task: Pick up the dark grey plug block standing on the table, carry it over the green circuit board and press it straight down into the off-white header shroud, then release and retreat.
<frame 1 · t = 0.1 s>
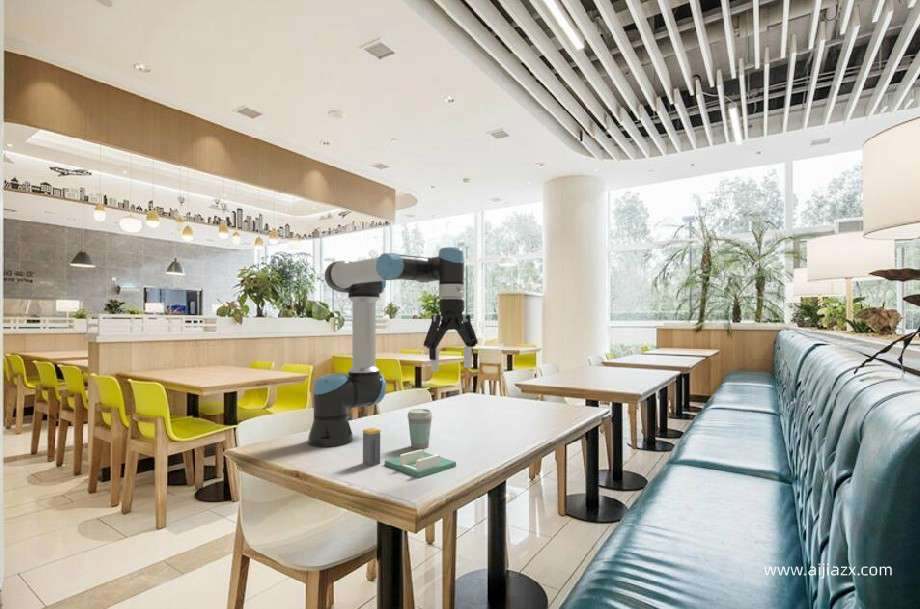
hand: (451, 369, 140), 28 cm above the table, fingers open, 13 cm apart
coffee cup: (420, 447, 158), on the table
board: (420, 465, 137), on the table
plug: (371, 463, 140), on the table
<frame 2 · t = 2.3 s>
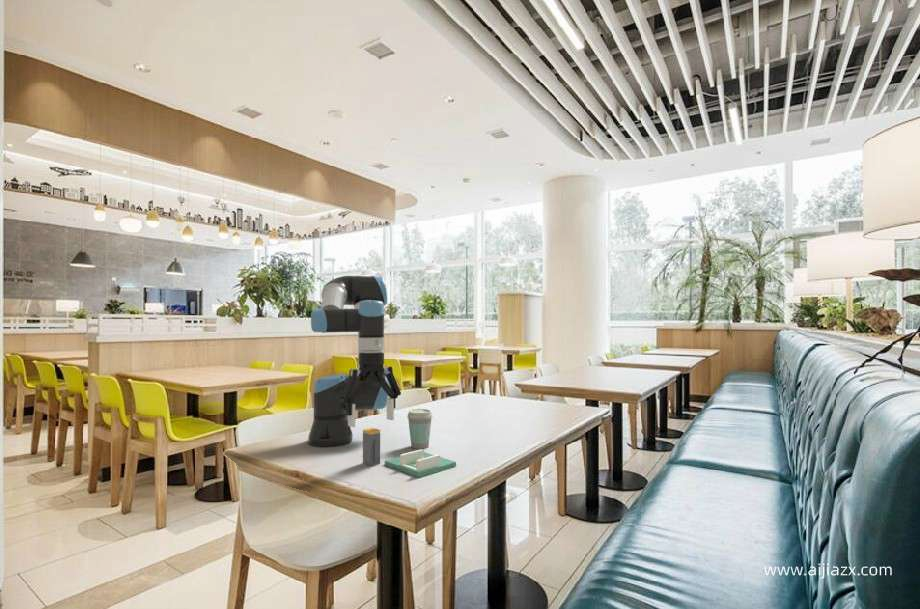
hand: (371, 422, 140), 12 cm above the table, fingers open, 13 cm apart
nothing on the table moved.
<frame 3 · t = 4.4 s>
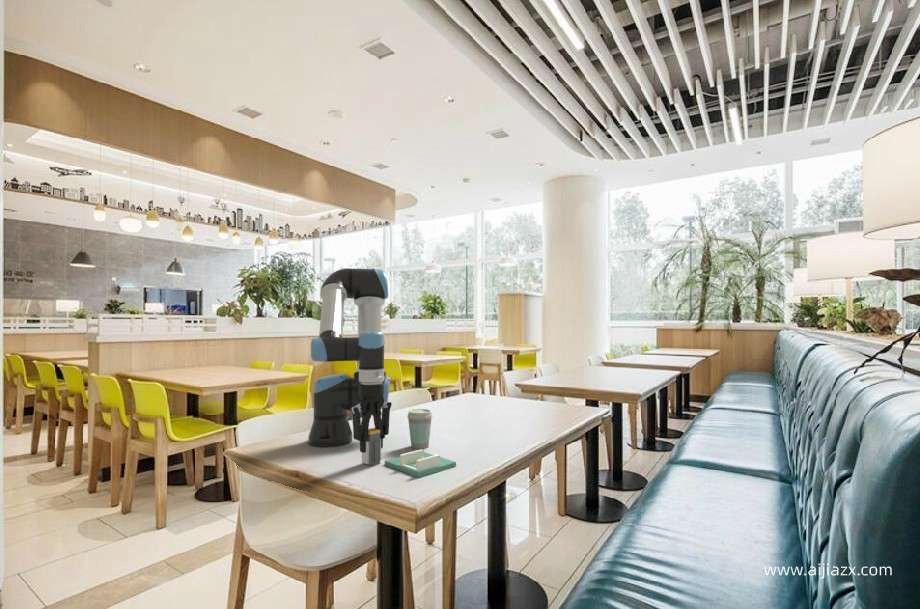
hand: (371, 461, 140), 1 cm above the table, fingers closed on plug, 3 cm apart
plug: (371, 463, 140), on the table, touching gripper
everything else where it was.
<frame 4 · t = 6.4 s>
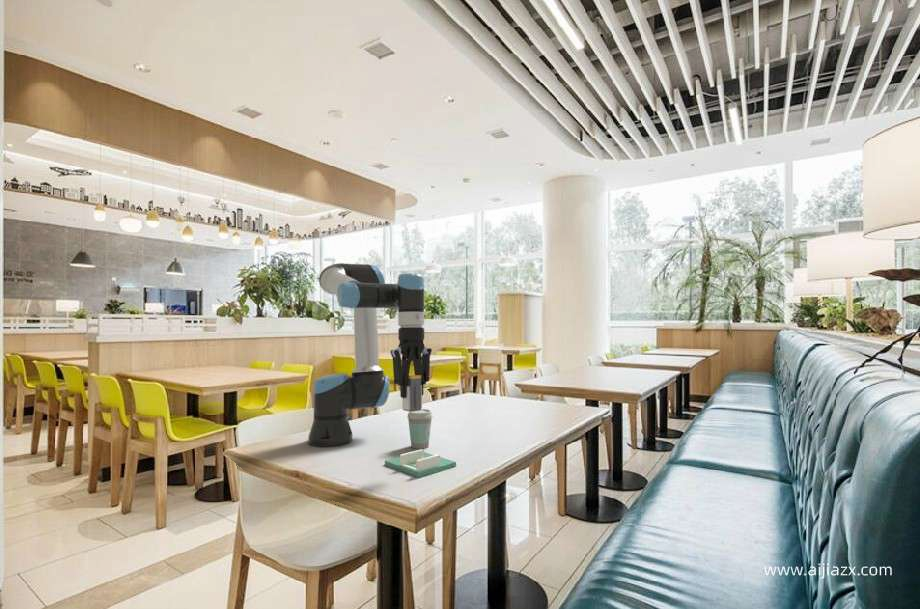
hand: (412, 408, 134), 18 cm above the table, fingers closed on plug, 3 cm apart
plug: (412, 410, 134), point 17 cm above the table, touching gripper
everything else where it was.
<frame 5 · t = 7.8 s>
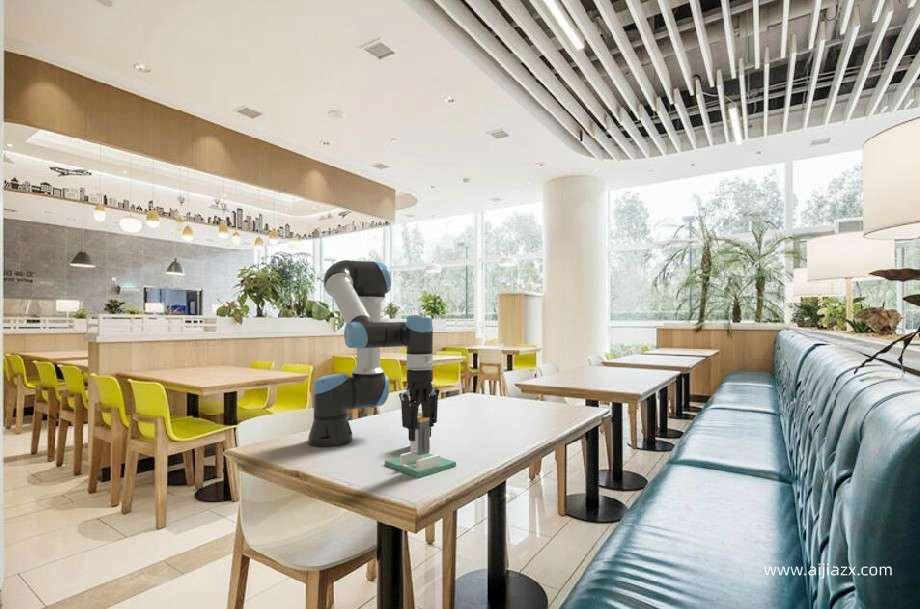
hand: (420, 450, 134), 5 cm above the table, fingers closed on plug, 3 cm apart
plug: (420, 452, 134), point 5 cm above the table, touching gripper
everything else where it was.
when the fingers open (2 cm above the table, at t = 8.7 s): plug stays where it is, resting on board.
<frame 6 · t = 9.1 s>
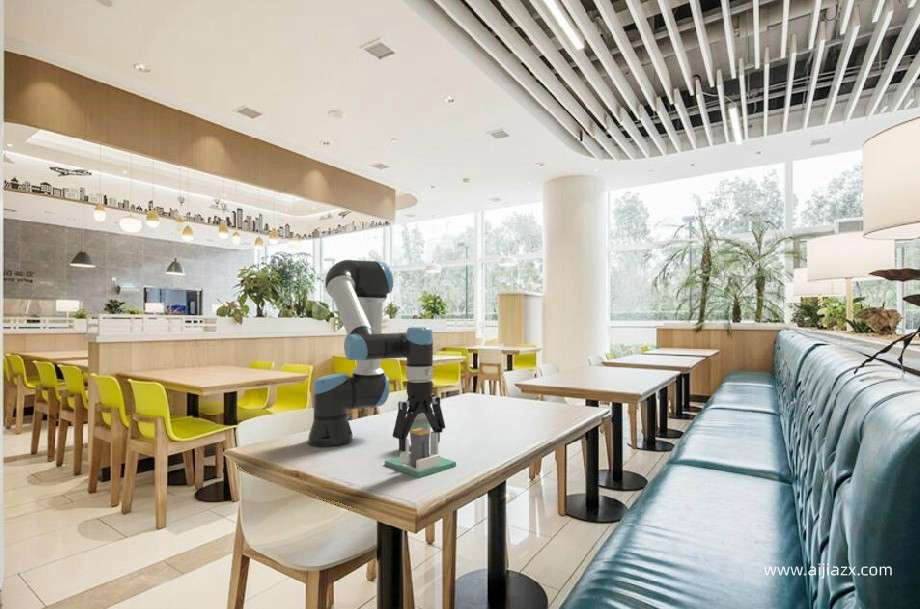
hand: (420, 458, 134), 3 cm above the table, fingers open, 10 cm apart
plug: (420, 465, 134), point 1 cm above the table, touching board
everything else where it was.
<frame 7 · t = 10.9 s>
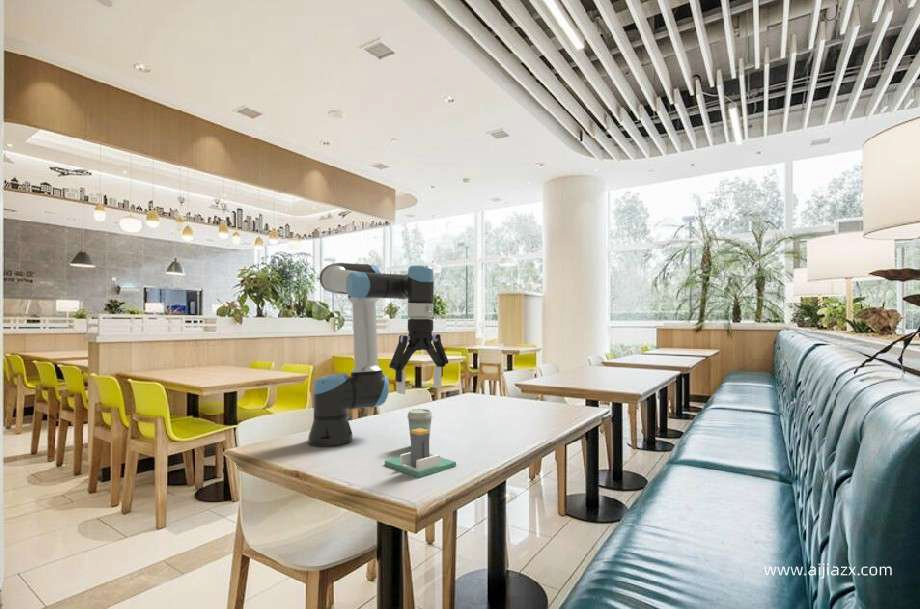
hand: (419, 390, 137), 22 cm above the table, fingers open, 13 cm apart
nothing on the table moved.
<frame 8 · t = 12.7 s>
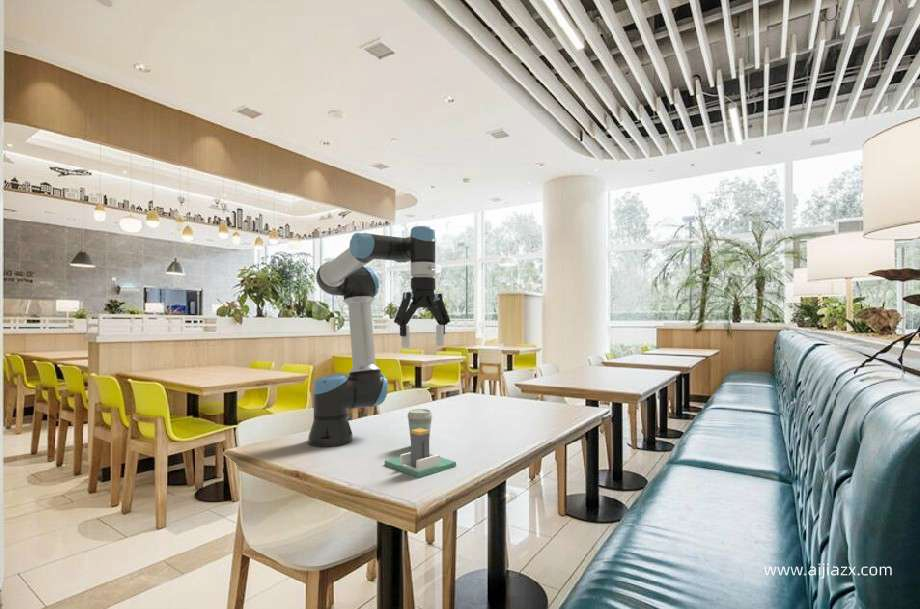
hand: (423, 346, 142), 35 cm above the table, fingers open, 13 cm apart
nothing on the table moved.
at the end: plug 0.0 cm from the target spot on the board, point 1.2 cm above the board's base; plug tilted 0°; the gripper is holding nothing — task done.
